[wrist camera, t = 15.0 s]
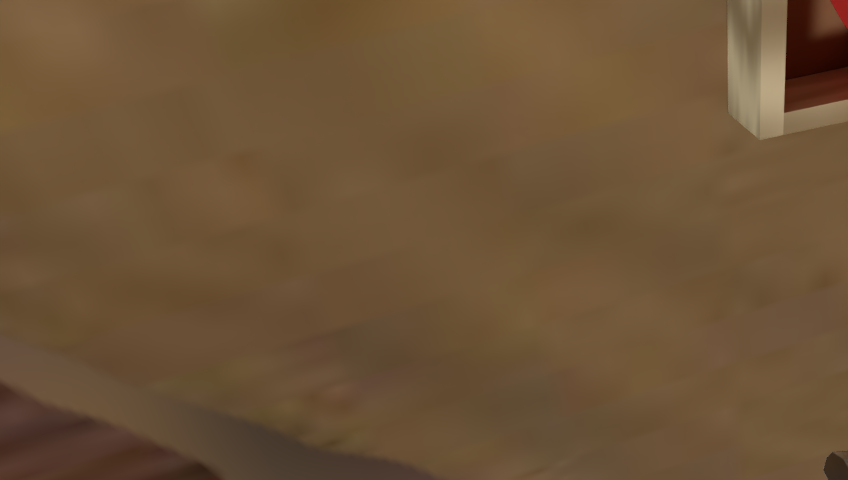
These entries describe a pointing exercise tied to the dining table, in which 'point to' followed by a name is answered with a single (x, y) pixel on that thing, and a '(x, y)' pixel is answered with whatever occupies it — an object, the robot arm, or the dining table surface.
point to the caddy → (775, 76)
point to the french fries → (842, 10)
